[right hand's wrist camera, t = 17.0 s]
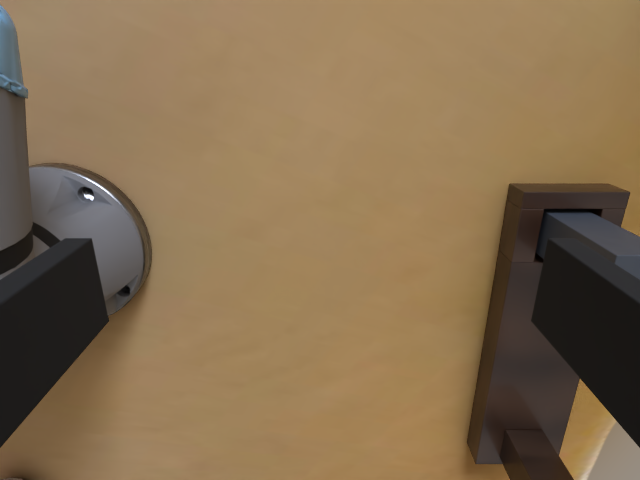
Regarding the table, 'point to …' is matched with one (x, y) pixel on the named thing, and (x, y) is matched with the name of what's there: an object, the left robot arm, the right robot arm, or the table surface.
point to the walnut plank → (528, 341)
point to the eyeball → (12, 479)
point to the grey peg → (592, 236)
